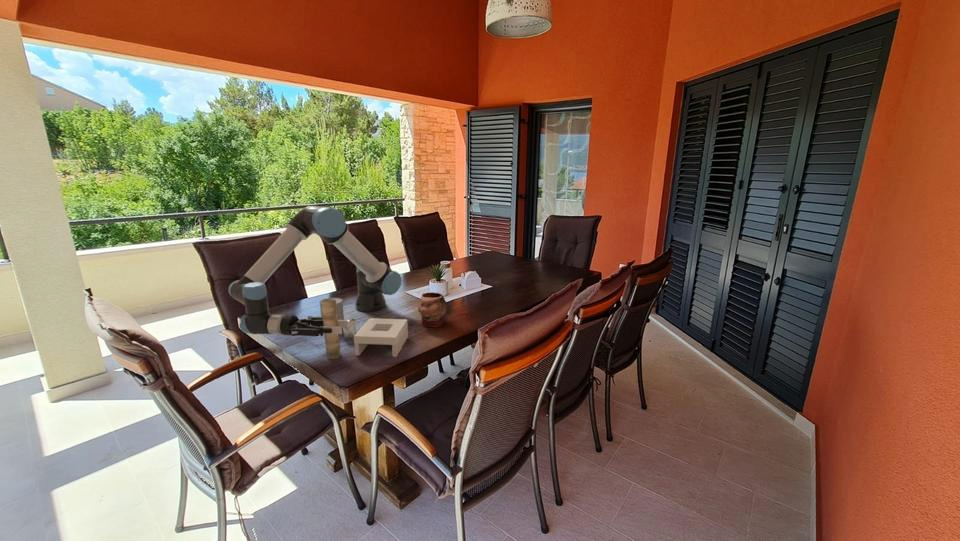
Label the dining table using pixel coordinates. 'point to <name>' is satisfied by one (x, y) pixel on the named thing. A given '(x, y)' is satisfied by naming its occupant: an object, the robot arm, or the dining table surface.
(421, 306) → the decorative planter
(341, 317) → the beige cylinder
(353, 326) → the glass salt shaker
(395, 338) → the miniature square stool
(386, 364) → the dining table surface
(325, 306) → the long pin
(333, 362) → the dining table surface
